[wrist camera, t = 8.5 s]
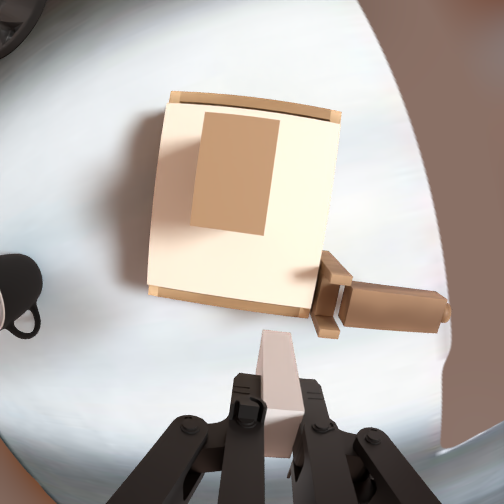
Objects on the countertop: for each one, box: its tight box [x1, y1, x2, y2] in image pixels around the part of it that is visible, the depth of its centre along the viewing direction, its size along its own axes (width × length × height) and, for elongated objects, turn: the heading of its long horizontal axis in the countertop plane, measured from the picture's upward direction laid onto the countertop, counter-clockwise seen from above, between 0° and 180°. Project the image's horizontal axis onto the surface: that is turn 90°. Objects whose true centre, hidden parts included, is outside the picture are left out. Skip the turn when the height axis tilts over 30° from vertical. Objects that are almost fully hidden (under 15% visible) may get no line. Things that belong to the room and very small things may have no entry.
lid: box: [147, 103, 341, 309], centre depth 25 cm, size 17×16×11 cm
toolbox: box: [148, 91, 353, 339], centre depth 30 cm, size 20×18×10 cm
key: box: [338, 281, 451, 333], centre depth 28 cm, size 4×11×2 cm, turn 82°
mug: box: [0, 254, 43, 339], centre depth 33 cm, size 12×9×10 cm
